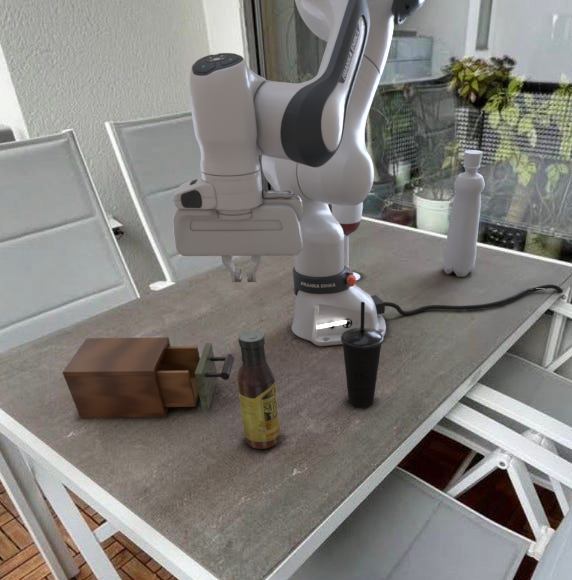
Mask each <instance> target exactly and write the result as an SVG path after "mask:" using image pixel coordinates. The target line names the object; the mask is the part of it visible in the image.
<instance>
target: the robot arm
mask: <svg viewBox="0 0 572 580" xmlns="http://www.w3.org/2000/svg"><path fill="white" fill-rule="evenodd" d="M294 2H295V7H296V8H297V11H298V13H299V16H300V17H301V19H302V21H303V22H304V24H305V25H306V26H307V28H308V29H309V30H310V31H311V33H313V34H314V36H316V37H317V38H319V39H320V40H322V41H323V42H326V46H325V49H324V52H323V55H322V59H321V62H320V66H319V68H318V71H317V74H316V75H315V76H314V77H313V78H311V79H309V80H307V81H303V82H297V83H295V82H286V81H285V82H284V81H276V80H270V79H269V80H268V79H266V78H265V77H263V76H261V75H259V74H257V73H256V72H254V71H253V70H252V69H251V68H250V67H249V66H248V65H247V63H246V60H245V58H244V57H243V55H242V56H241V55H240V54H237V53H234V52H233V53H232V52H221V53H220V52H219V53H216V54H208V55H206V56H203V57H200V58H199V59H197V60H196V61H195V62H194V63H193V64H192V66H191V68H190V71H189V72H190V73H189V84H188V85H189V87H188V88H189V101H190V102H189V104H190V111H191V119H192V125H193V131H194V132H193V133H194V137H195V140H196V142H197V144H198V147H199V152H200V161H199V162H200V163H199V169H200V175H201V176H200V177H196V178H193V179H192V180H188V181H186V182H184V183H182V184H181V185H180V186H178V187H177V189H176V190H175V191H174V193H173V197H172V198H173V203H174V206H175V207H176V211H175V212H174V214H173V216H172V229H173V240H174V245H175V250H176V251H177V252H178V253H179V255H181V256H182V257H221V262H222V264H223V265H224V266H225V268H226V269H227V270H228V272H229V273H230V277H231V283H242V280H243V276H242V268H239V267H238V268H237V267H236V266H235V265H234V263H233V262H232V259H233V257H251V262H252V263H253V266H252V267H250V268H247V269H246V278H247V279H246V280H247V283H257V281H258V273H257V271H258V269H259V267H260V264H261V262H262V258H263V257H264V256H272V257H273V256H275V257H277V256H278V257H280V256H282V257H283V256H285V257H286V256H293V264H294V266H293V267H292V287H293V292H294V297H295V299H294V312H293V319H292V323H291V327H290V328H291V331H292V333H293V334H294V335H295V336H296V337H298V338H300V339H302V340H303V339H304V340H306V341H308V342H309V341H310V342H311V343H312V344H314V345H315V346H318V347H326V346H327V347H328V346H336V345H337V346H338V345H343V343H342V341H341V335H342V334H343V333H344V332H345V331H347V330H349V329H353V328H360V327H361V302H365V319H364V328H370V329H374V330H377V331H379V332H380V333H381V334H382V335H383V338H384V337H385V336H386V333H387V325H386V324H387V323H386V321H385V318H384V316H383V315H382V314H385V312H386V311H385V310H386V307H389V308H394V309H395V310H396V311H397V312H398V313H399V315H402V316H411V315H416V314H419V313H422V312H424V311H429V310H449V311H453V310H454V311H464V310H467V311H468V310H479V309H480V310H481V309H488V308H493V307H497V306H500V305H505V304H506V303H509V302H512V301H514V300H517V299H519V298H521V297H522V296H524V295H526V294H529V293H533V292H537V291H543V289H536V288H545V289H544V290H547V289H548V290H549V289H553V290H555V291H557V292H558V293H563V289H562V288H561V287H560V286H559V285H556V284H551V283H550V284H542V285H538V286H534V287H529V288H526V289H524V290H521V291H520V292H518V293H517V294H514V295H511V296H509V297H506V298H503V299H501V300H497V301H493V302H488V303H481V304H480V303H479V304H468V305H466V304H465V305H451V304H450V305H449V304H448V305H447V304H429V305H424V306H421V307H418V308H416V309H413V310H403V309H402V307H401V306H400V305H398V304H397V303H394V302H390V301H384V300H383V299H381V298H380V297H379V296H378V295H376V294H374V295H370V294H369V293H368V292H366V291H365V290H364V289H362V288H361V287H359V285H356V283H357V280H356V278H355V276H354V275H353V272H354V271H353V270H352V267H351V266H350V265H349V268H348V267H346V264H345V234H344V232H343V229H342V227H341V225H340V224H339V222H338V221H337V220H336V219H335V218H334V216H333V215H332V210H331V209H330V206H329V205H331V206H332V205H335V206H351V205H358V204H360V203H362V202H363V203H364V201H365V200H366V199H367V197H368V196H369V195H370V192H371V191H372V188H373V186H374V185H373V184H374V181H375V180H374V179H375V168H374V163H373V160H372V157H371V156H370V154H369V152H368V149H367V146H366V125H367V119H368V116H369V113H370V109H371V107H372V103H373V100H374V98H375V96H376V95H375V94H376V92H377V90H378V86H379V84H380V81H381V78H382V75H383V73H384V70H385V67H386V63H387V60H388V57H389V53H390V49H391V44H392V40H393V34H394V29H395V28H394V27H395V26H398V25H402V24H403V23H404V22H405V21H406V19H407V18H408V17H411V16H413V15H414V14H415V13H417V12H418V11H419V9H420V8H422V7H423V5H424V4H425V2H426V0H294ZM260 156H261V163H260V161H259V160H260V159H259V157H260ZM262 172H263V176H264V179H266V181H267V182H268V183H269V185H270V186H271V187H272V188H273V190H266V189H265V190H264V189H263V181H262ZM262 256H263V257H262ZM531 289H532V290H531Z"/></svg>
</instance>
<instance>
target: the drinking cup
mask: <svg viewBox="0 0 572 580" xmlns="http://www.w3.org/2000/svg"><path fill="white" fill-rule="evenodd" d="M364 319H365V302H361V327H360V328H353V329H349V330H347V331H345V332H344V333H343V334H342V335H341V341H342V343H343V344H342V348H343V350H342V351H343V358H344V367H345V377H346V378H345V380H346V388H347V397H348V404H349V405H350V406H351V407H353V408H356V409H366V408H370V407H371V406H373V405H374V399H375V395H376V394H375V393H376V386H377V379H378V372H379V364H380V358H381V350H382V344H383V342H384V337H383V335H382V334H381V333H380V332H379V331H377V330H374V329H370V328H364Z"/></svg>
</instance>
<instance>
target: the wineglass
mask: <svg viewBox="0 0 572 580" xmlns="http://www.w3.org/2000/svg"><path fill="white" fill-rule="evenodd" d="M363 208H364V201H363V202H362V203H360V204H358V205H351V206H335V205H331V213H332V215H333V216H334V218H335V219H336V220H337V221H338V222H339V224H340V225H341V227H342V229H343V232H344V236H345V266H346V267H348V268H349V266H350V265H349V255H350V254H349V252H350V251H349V248H350V247H349V245H350V243H349V241H350V239H349V238H350V237H349V235H351V234H353V233H354V232H355V231H357V229H358V228H359V227H360V225H361V222H362V216H363ZM353 275H354V276H355V278H356V281H358V280H360V279H361V275H360V274H359V273H358V272H354V271H353Z"/></svg>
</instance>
